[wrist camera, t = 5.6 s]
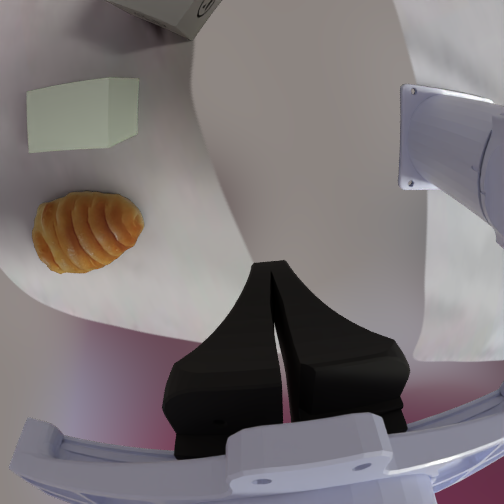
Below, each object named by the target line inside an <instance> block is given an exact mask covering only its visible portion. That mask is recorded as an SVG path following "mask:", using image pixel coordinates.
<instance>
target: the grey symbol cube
mask: <svg viewBox="0 0 504 504" xmlns="http://www.w3.org/2000/svg"><path fill="white" fill-rule="evenodd" d="M105 1H107V2H109V3H111V4H113V5H115V6H117V7H118V8H120V9H122V10H124V11H126V12H127V13H129V14H131V15H133V16H136V17H138V18H141V19H143V20H146V21H148V22H151V23H153V24H156V25H158V26H160V27H163V28H165V29H167V30H169V31H172V32H174V33H176V34H178V35H180V36H183V37H185V38H187V39H189V40H191V41H193V39H194V38H195V37H196V35H197V33H198V32H199V31H200V29H201V28H202V27H203V25H204V24H205V22H206V21H207V19H208V18H209V17H210V16H211V14H212V13H213V11H214V10H215V9H216V8H217V6H218V5H219V4H220V3H221V1H222V0H105Z"/></svg>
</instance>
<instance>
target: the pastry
mask: <svg viewBox="0 0 504 504" xmlns="http://www.w3.org/2000/svg"><path fill="white" fill-rule="evenodd" d="M143 228H144V221H143V218H142V215H141V213H140V211H139V209H138V208H137V207H136V206H135V205H134V204H133V203H132V202H131V201H130V200H129V199H128V198H126V197H123V196H121V195H120V194H110V193H107V194H104V193H101V192H90V191H84V192H71V193H69V194H68V195H66V196H65V197H62V198H58V199H55V200H53V201H51V202H46V203H42V204H40V205H39V207H38V209H37V215H36V217H35V220H34V228H33V230H32V239H33V243H34V247H35V249H36V252H37V254H38V256H39V258H40V260H41V261H42V262H43V263H45V264H46V265H47V267H48V268H49V269H50V270H51V271H54V272H57V273H59V274H62V273H66V272H68V273H87V272H89V271H92V270H94V269H99V268H102V267H104V266H105V265H108V264H110V263H111V262H112V261H113V260H115V259H117V258H118V257H119V256H120V255H121V254H122V253H123V252H124V251H126V250H127V249H129V248H131V247H133V246H134V245H135V243H136V241H137V238H138V236H139V235H140V233H141V232H142V230H143Z"/></svg>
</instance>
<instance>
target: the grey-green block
mask: <svg viewBox="0 0 504 504" xmlns="http://www.w3.org/2000/svg"><path fill="white" fill-rule="evenodd" d="M138 90H139V79H137V78H113V77H108V78H100V79H92V80H85V81H78V82H72V83H66V84H60V85H55V86H50V87H45V88H40V89H36V90H31V91H27V133H28V148H29V153H38V152H49V151H61V150H77V149H97V148H110V147H112V146H114V145H116V144H118V143H120V142H122V141H124V140H126V139H128V138H130V137H133V136H135V135H137V123H138Z"/></svg>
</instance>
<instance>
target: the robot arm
mask: <svg viewBox="0 0 504 504" xmlns="http://www.w3.org/2000/svg"><path fill="white" fill-rule="evenodd" d="M412 88H413V89H414V90H415V93H414V94H412V93H411V89H412ZM400 104H401V105H400V108H401V109H400V110H401V121H400V122H401V124H400V159H399V177H398V185H399V187H400V188H402V189H403V190H438V189H441V190H442V191H444V192H445V193H447V194H448V195H449V196H451V197H452V198H454V199H455V200H457V201H458V202H459V203H461V204H462V205H464V206H465V207H466V208H468V209H469V210H471V211H472V212H473V213H475V214H476V215H477V216H479V217H480V218H481V219H483V220H484V221H485V222H486V223H488V224H489V225H490V226H492V227H493V229H494V230H495V233H496V242H497V243H498V244H499V245H500V246H501V247H502V248H504V106H502V105H498V104H494V103H493V101H492V100H490V99H486V98H482V97H478V96H474V95H469V94H465V93H460V92H455V91H450V90H444V89H439V88H433V87H426V86H419V85H412V84H403V85H402V86H401V88H400ZM411 180H412V183H411V185H408V183H409V181H411ZM274 323H275V328H276V332H277V336H278V341H279V345H280V349H281V353H282V357H283V362H284V366H285V372H286V379H287V387H288V397H289V406H290V415H291V423H285V424H283V404H282V381H281V373H280V366H279V361H278V355H277V349H276V343H275V336H274ZM409 374H410V368H409V364H408V362H407V360H406V358H405V356H404V354H403V352H402V351H401V349H400V348H399V346H398V345H397V343H396V342H395V340H393V339H390V338H388V337H385V336H382V335H379V334H377V333H374V332H371V331H369V330H367V329H365V328H363V327H360V326H359V325H357V324H355V323H353V322H351V321H349V320H348V319H346V318H344V317H343V316H341V315H339V314H338V313H336V312H335V311H333V310H332V309H331V308H329V307H328V306H327V305H326V304H324V303H323V302H322V301H321V300H320V299H319V298H317V297H316V296H315V295H314V294H313V293H312V292H311V291H310V290H309V289H308V288H307V287H306V286H305V285H304V283H303V282H302V281H301V280H300V279H299V278H298V277H297V275H296V274H295V273H294V272H293V270H292V269H291V268H290V266H289V265H288V263H287V262H286V261H285V260H281V261H271V262H260V263H254V264H253V265H252V266H251V271H250V274H249V277H248V280H247V282H246V284H245V286H244V289H243V291H242V293H241V295H240V296H239V298H238V300H237V302H236V303H235V305H234V307H233V308H232V310H231V311H230V313H229V314H228V315H227V317H226V318H225V319H224V321H223V322H222V323H221V324H220V325H219V327H218V328H217V329H216V330H215V331H214V332H213V333H212V334H211V335H210V336H209V337H208V338H207V339H206V340H205V341H204V342H203V343H202V344H201V345H199V346H198V347H197V348H196V349H195V350H194V351H192V352H191V353H189V354H188V355H186V356H185V357H184V358H182V359H181V360H179V361H178V362H176V363H175V364H174V365H173V368H172V370H171V372H170V375H169V378H168V380H167V383H166V387H165V392H164V398H163V405H162V409H163V412H164V414H165V416H166V418H167V420H168V421H169V423H170V424H171V426H172V428H173V429H174V431H175V432H176V441H175V450H174V451H168V450H155V449H145V448H135V447H126V446H119V445H113V444H106V443H100V442H95V441H89V440H84V439H79V438H75V437H70V436H66V435H63V434H62V432H61V431H60V430H59V429H58V428H57V427H56V426H54V425H53V424H51V423H48V422H45V421H41V420H38V419H33V418H30V417H29V418H27V420H26V423H25V425H24V428H23V430H22V433H21V435H20V438H19V441H18V443H17V446H16V449H15V452H14V454H13V457H12V460H11V463H10V466H9V469H10V470H11V471H12V472H14V473H15V474H16V475H18V476H19V477H21V478H22V479H24V480H25V481H27V482H28V483H30V484H31V485H33V486H35V487H36V488H37V489H39V490H41V491H42V492H44V493H45V494H47V495H49V496H52V497H54V498H57V499H60V500H63V501H66V502H68V503H71V504H437V501H436V498H435V495H434V493H436V492H438V491H440V490H442V489H445V488H447V487H449V486H451V485H453V484H455V483H457V482H459V481H461V480H463V479H464V478H466V477H468V476H470V475H472V474H473V473H475V472H477V471H479V470H480V469H482V468H484V467H486V466H487V465H489V464H491V463H492V462H494V461H496V460H497V459H499V458H500V457H502V456H504V381H503V383H502V384H501V386H500V388H499V389H498V390H496V391H494V392H492V393H490V394H487V395H485V396H483V397H481V398H478V399H476V400H474V401H471V402H469V403H466V404H464V405H461V406H459V407H456V408H454V409H451V410H449V411H446V412H443V413H440V414H437V415H434V416H431V417H429V418H426V419H422V420H420V421H416V422H413V423H410V424H406V421H405V419H404V416H403V413H402V410H401V409H402V408H403V402H402V400H401V397H400V395H401V393H402V391H403V389H404V387H405V384H406V382H407V380H408V377H409Z"/></svg>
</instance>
